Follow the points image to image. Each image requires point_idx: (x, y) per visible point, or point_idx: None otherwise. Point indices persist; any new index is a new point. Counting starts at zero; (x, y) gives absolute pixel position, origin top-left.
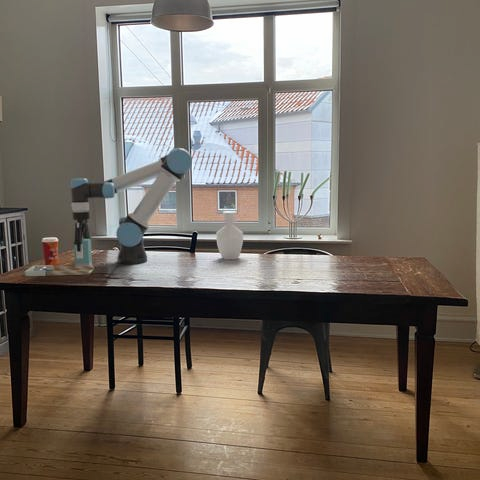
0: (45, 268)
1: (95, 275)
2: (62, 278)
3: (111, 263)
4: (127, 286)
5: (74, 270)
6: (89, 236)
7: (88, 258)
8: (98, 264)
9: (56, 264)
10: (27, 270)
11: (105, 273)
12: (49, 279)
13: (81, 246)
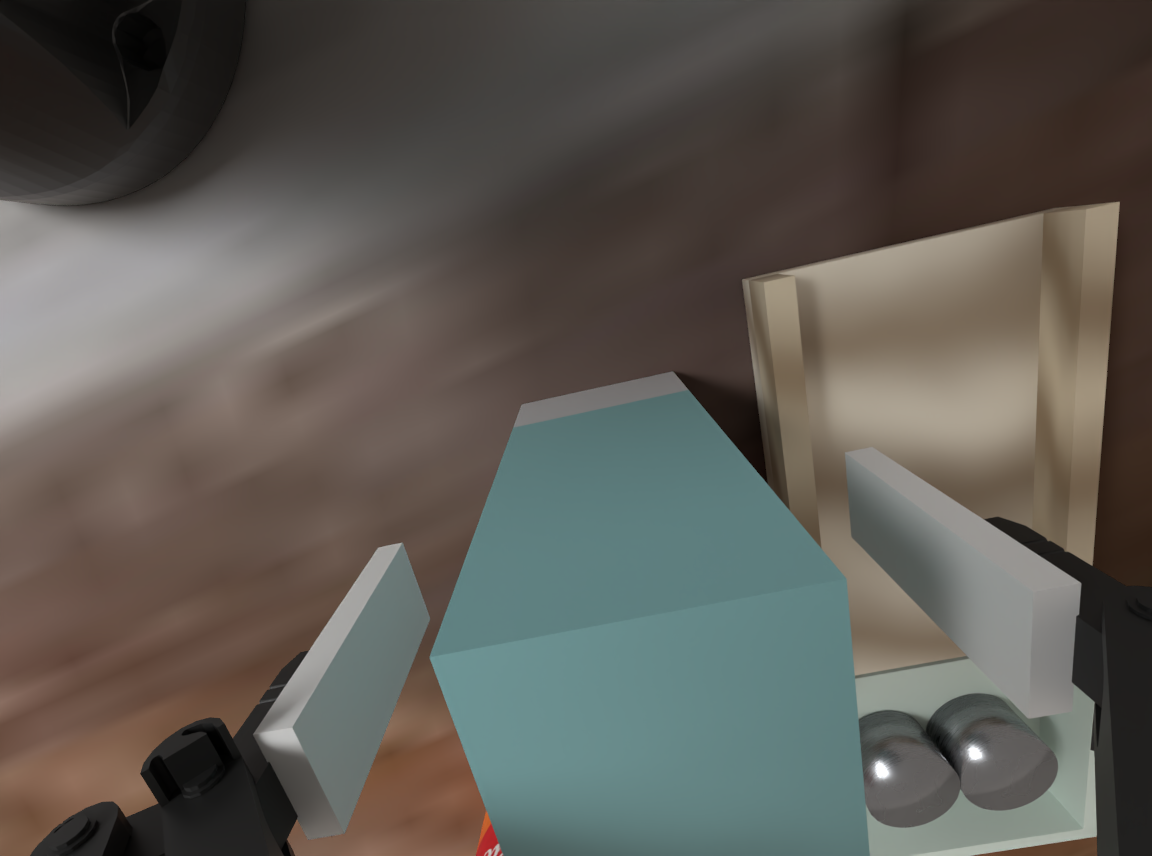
0: (911, 746)
1: (1023, 132)
2: (1124, 459)
3: (253, 243)
4: None
5: (828, 482)
6: (87, 835)
7: (705, 413)
8: (359, 393)
9: None
10: (1058, 831)
11: (909, 34)
12: (1146, 561)
13: (1035, 562)
